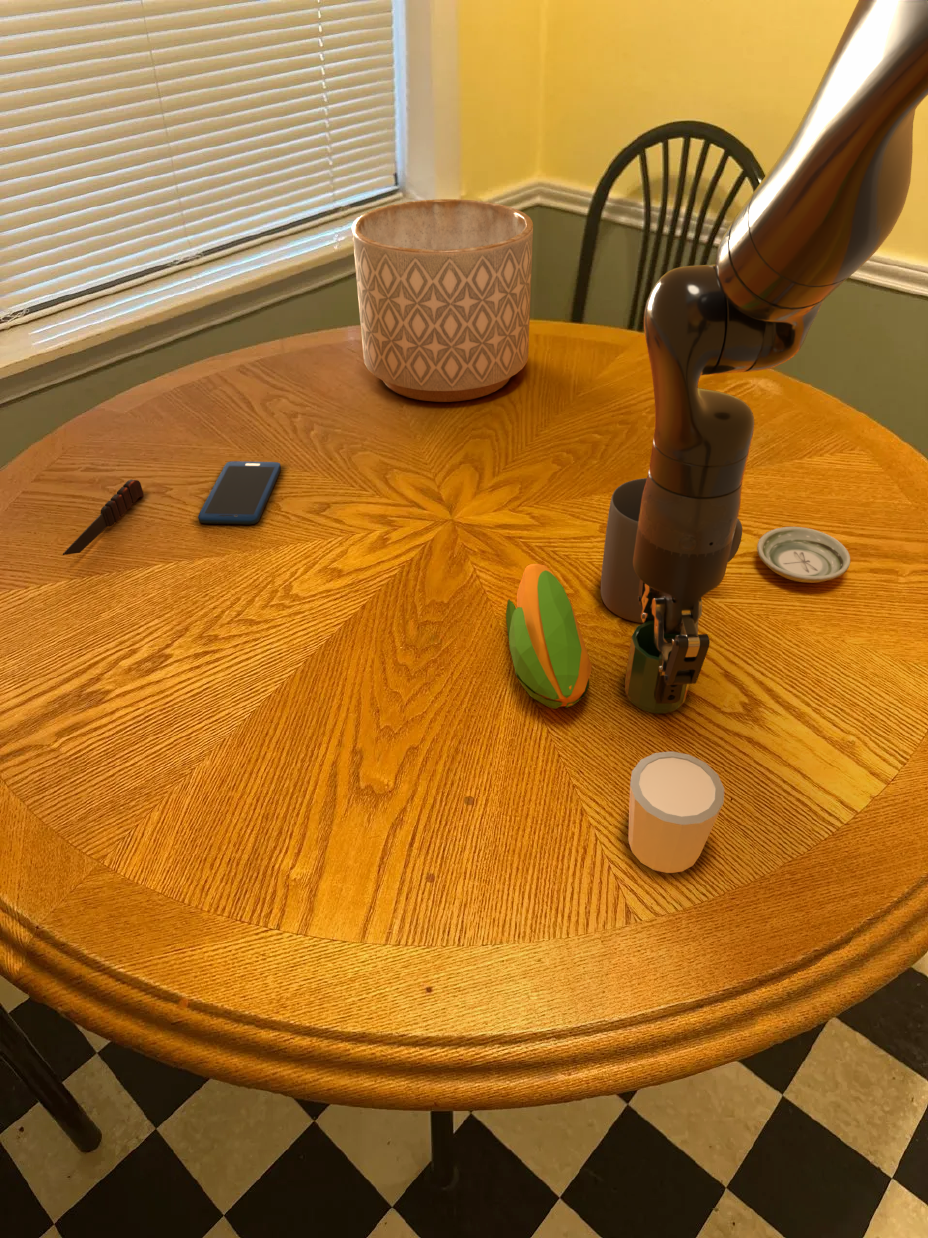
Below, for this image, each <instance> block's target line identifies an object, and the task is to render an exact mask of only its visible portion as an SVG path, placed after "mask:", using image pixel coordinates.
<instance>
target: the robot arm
mask: <svg viewBox="0 0 928 1238" xmlns="http://www.w3.org/2000/svg"><path fill="white" fill-rule="evenodd" d="M831 55H832V56H831V58H830V60H829V62H828V63H827V66H826V68H825V70H824V71H823V72H824V73H823V75H822V76H821V79H820V81H819V83H818V85H817V88H816V89H815V92H814V93H813V95H812V98H811V100H810V102H809V104H808V106H807V108H806V110H805V112H804V114H803V116H802V117H801V120H800V121H799V124H798V125H797V127H796V129H795V131H794V132H793V134H792V135H791V137H790V139H789V141H788V143H787V144H786V146H785V147H784V149H783V150H782V151H781V153H780V155H779V156H778V158H777V159H776V160H775V162H774V163H773V164H772V165H773V166H772V167H771V168H769V170H768V171H767V173H766V175H765V176H764V177H763V178H762V179H761V181H760V182H759V184H758V186H756V188H755V189H754V190H753V192H752V194H751V195H750V196H749V198H748V199H747V201H746V202H745V203H744V204H743V206H742V207H741V208H740V210H739V212H737V214H736V215H735V217H734V218H733V219H732V221H731V222H730V224H729V226H728V227H727V228H726V230H725V232H724V234H723V236H722V238H721V240H720V242H719V244H718V247H717V251H716V255H715V264H700V265H698V264H697V265H686V266H685V265H684V266H679V267H675V268H672V269H671V270H669V271H666V272H665V274H663V275H662V276H661V277H660V278H659V279H658V280H657V282H656V283H655V284H654V286H653V287H652V289H651V291H650V293H649V294H648V297H647V300H646V302H645V307H644V311H643V330H644V338H645V344H646V349H647V355H648V359H649V365H650V371H651V377H652V389H653V397H654V398H653V399H654V400H653V401H654V432H653V440H652V446H651V453H650V460H649V468H648V472H647V477H646V478H647V480H646V483H645V486H644V490H643V494H642V499H641V507H640V514H639V521H638V528H637V535H636V542H635V549H634V557H633V567H634V570H635V572H636V574H637V576H638V577H639V578H640V584H639V595H638V601H639V605H642V607H643V609H642V613H641V619H642V621H643V622H647V621H650V620H655V621H654V645H655V646H656V648H657V649H658V650H659V666H658V675H657V680H656V686H655V691H654V698H655V701H656V703H658V704H666V703H677V702H678V701H679V700H680V697H681V692H682V688H683V684H689V685H696V684H697V682H698V679H699V677H700V674H701V671H702V669H703V665H704V662H705V660H706V658H707V657H706V656H707V653H708V651H709V649H710V648H709V647H710V644H711V640H710V638H709V637H710V636H709V635H708V634H707V633H700V634H699V620H700V618H701V617H702V616H703V615H702V614H703V599H702V598H703V597H704V596H705V595H707V594H708V593H709V592H711V591H713V590H714V589H716V588H717V587H719V585H720V584H721V583H722V582H723V580H724V578H725V576H726V572H727V568H728V564H729V562H728V559H729V554H730V550H731V545H732V541H733V537H734V532H735V528H736V524H737V519H739V514H740V511H741V501H742V487H743V481H744V476H745V473H746V468H747V464H748V460H749V454H750V451H751V446H752V442H753V441H752V440H753V436H754V431H755V416H754V413H753V411H752V409H751V407H750V406H749V405H748V404H747V403H746V402H745V401H744V400H742V399H741V398H739V397H737V396H734V395H732V394H729V393H727V392H721V391H718V390H712V389H707V388H703V387H699V383H700V379H701V376H709V375H710V376H711V375H712V376H713V375H725V374H735V373H736V374H737V373H751V372H752V373H753V372H760V371H765V370H770V369H773V368H775V367H778V366H779V365H782V364H784V363H786V362H788V361H789V360H791V359H792V358H793V357H795V356H796V355H797V354H798V353H799V352H800V350H801V348H802V346H803V345H804V343H805V342H806V341H805V340H806V338H807V336H808V333H809V332H810V330H811V327H812V326H813V323H814V322H815V319H816V318H817V316H818V314H819V311H820V310H821V308H822V306H823V303H824V302H825V299H827V298H828V297H829V296H830V295H831V294H833V292H834V291H835V290H836V289H838V288H839V287H840V286H841V285H842V284H843V283H844V282H845V281H847V280H848V279H849V278H850V277H851V276H852V275H854V274H855V273H856V272H857V271H858V270H859V269H860V268H861V267H862V266H863V265H864V264H866V263H867V262H868V261H869V260H870V259H871V257H873V256H874V255H875V253H876V252H878V250H879V249H880V247H881V246H882V245H883V244H884V243H885V241H886V240H887V238H888V237H889V236H890V234H891V233H892V231H893V229H894V227H895V225H896V224H897V222H898V220H899V218H900V216H901V214H902V212H903V209H904V207H905V204H906V201H907V197H908V193H909V190H910V185H911V179H912V166H913V153H914V151H913V149H914V147H913V145H914V143H913V136H914V135H913V134H914V120H915V114H916V109H917V108H918V107H919V105H920V104H921V103H922V102H923V101H924V100H925V99H926V97H927V96H928V0H858V1H857V3H856V5H855V7H854V9H853V11H852V13H851V15H850V17H849V20H848V21H847V24H846V25H845V28H844V30H843V32H842V34H841V37H840V39H839V41H838V43H837V45H836V46H835V49H834V52H833V53H832V54H831ZM664 633H666V634H681V635H676V637H675V638H669V639H664ZM670 651H671V654H670V657H669V660H668V654H669V652H670Z"/></svg>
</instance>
